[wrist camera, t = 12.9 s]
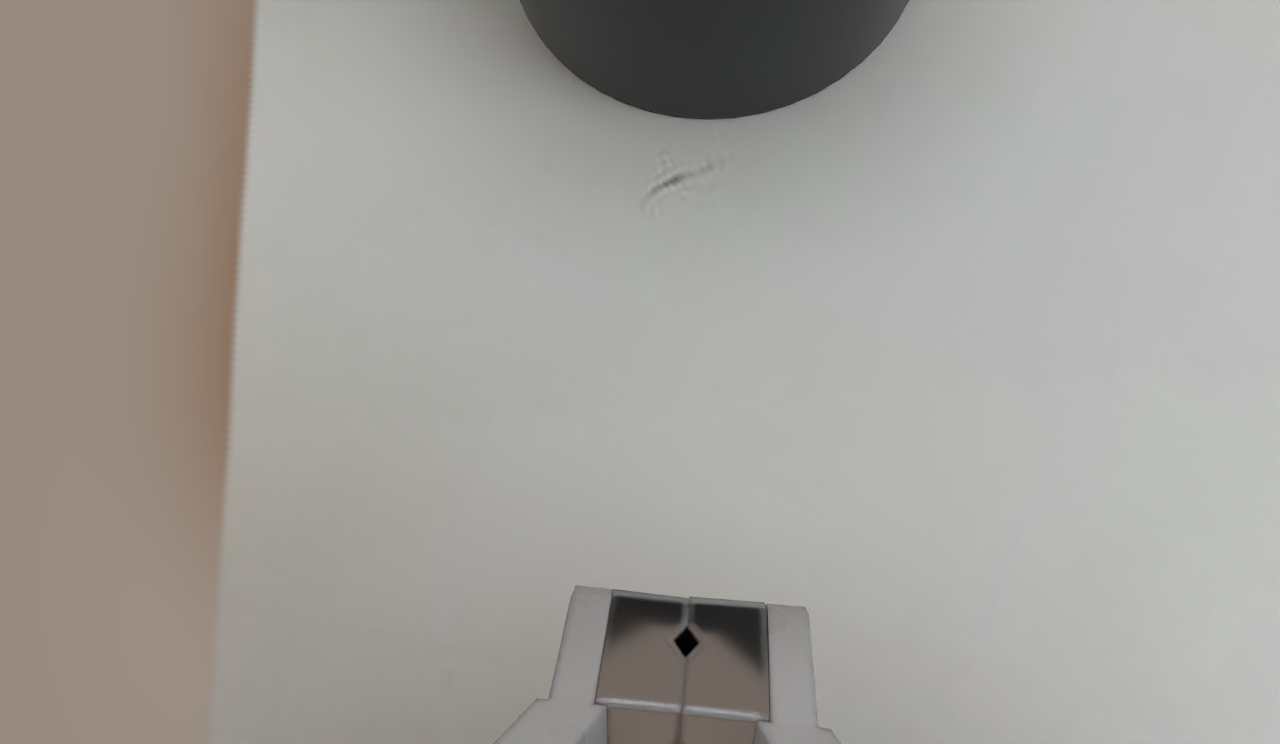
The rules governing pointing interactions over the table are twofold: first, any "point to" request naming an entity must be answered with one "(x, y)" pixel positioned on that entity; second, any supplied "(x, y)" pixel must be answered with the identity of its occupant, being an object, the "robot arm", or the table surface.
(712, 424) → the table surface
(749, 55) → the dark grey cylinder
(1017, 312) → the table surface
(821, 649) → the table surface
